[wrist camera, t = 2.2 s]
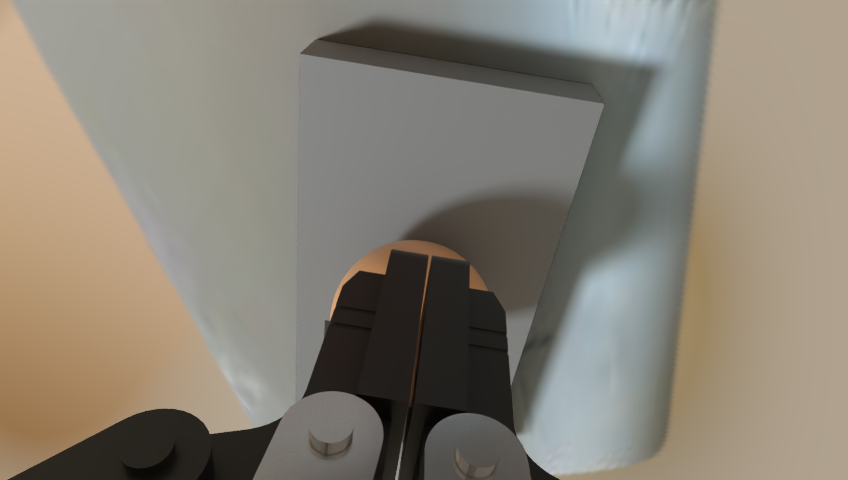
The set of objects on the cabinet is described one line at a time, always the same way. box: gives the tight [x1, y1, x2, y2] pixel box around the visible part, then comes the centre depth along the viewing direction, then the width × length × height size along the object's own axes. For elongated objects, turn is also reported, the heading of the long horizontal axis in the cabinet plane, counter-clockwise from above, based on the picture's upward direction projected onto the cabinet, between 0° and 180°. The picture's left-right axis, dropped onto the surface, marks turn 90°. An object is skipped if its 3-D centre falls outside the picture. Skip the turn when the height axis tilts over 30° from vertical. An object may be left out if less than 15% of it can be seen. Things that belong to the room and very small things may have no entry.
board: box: [296, 40, 604, 458], centre depth 28 cm, size 24×12×2 cm, turn 172°
